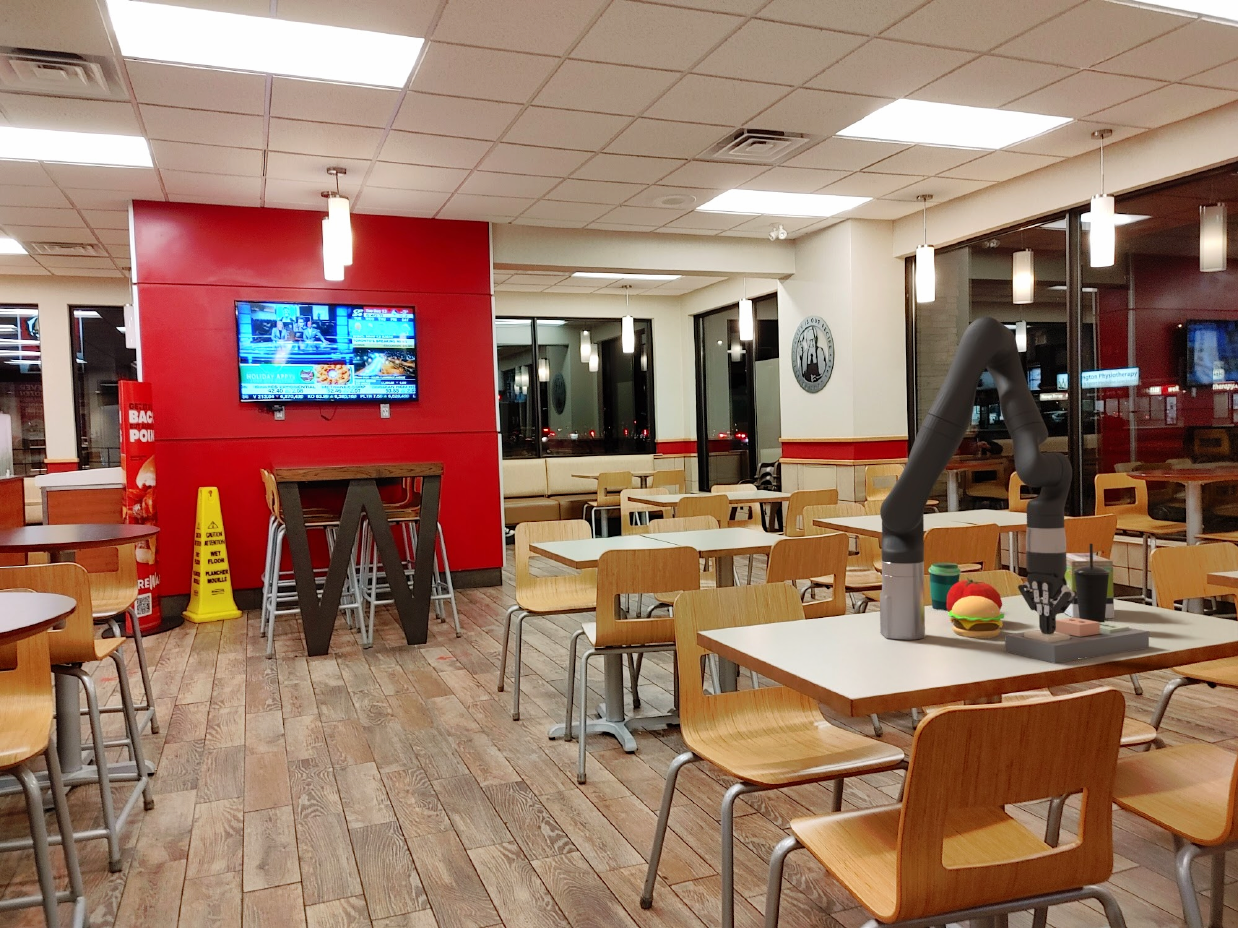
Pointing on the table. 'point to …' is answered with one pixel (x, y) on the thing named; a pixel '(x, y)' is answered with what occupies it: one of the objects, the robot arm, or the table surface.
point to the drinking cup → (1091, 590)
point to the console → (1077, 645)
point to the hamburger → (976, 617)
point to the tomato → (972, 592)
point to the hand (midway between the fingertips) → (1047, 632)
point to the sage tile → (1112, 628)
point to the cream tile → (1046, 636)
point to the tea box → (1073, 563)
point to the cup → (942, 582)
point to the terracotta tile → (1077, 627)
